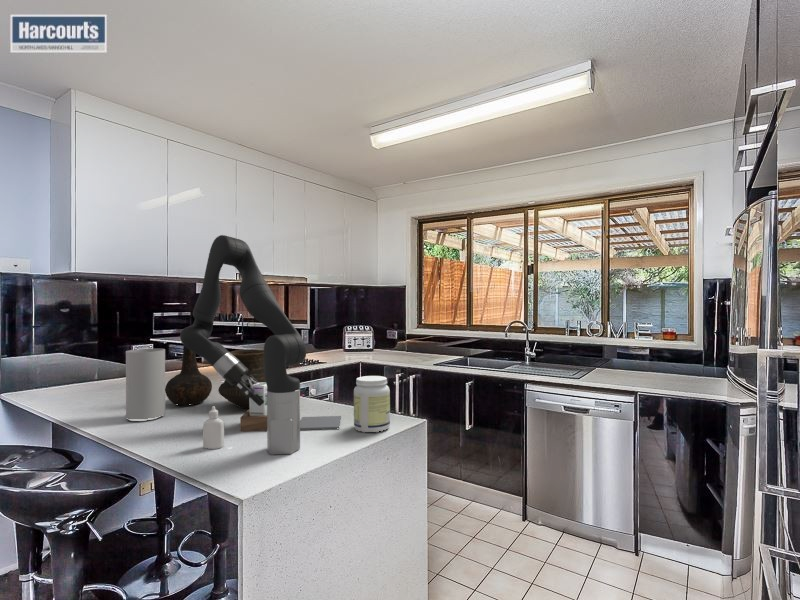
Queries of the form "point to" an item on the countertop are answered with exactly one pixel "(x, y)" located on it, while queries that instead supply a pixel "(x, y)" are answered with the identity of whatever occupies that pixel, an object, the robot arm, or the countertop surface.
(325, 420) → the grey flat block
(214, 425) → the eye dropper bottle
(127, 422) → the countertop surface
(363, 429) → the supplement tub
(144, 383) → the cylinder vase
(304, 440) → the countertop surface
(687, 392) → the countertop surface
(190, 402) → the brown bulbous vase
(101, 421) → the countertop surface
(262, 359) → the ceramic pot
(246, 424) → the walnut collar
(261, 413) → the syrup box
